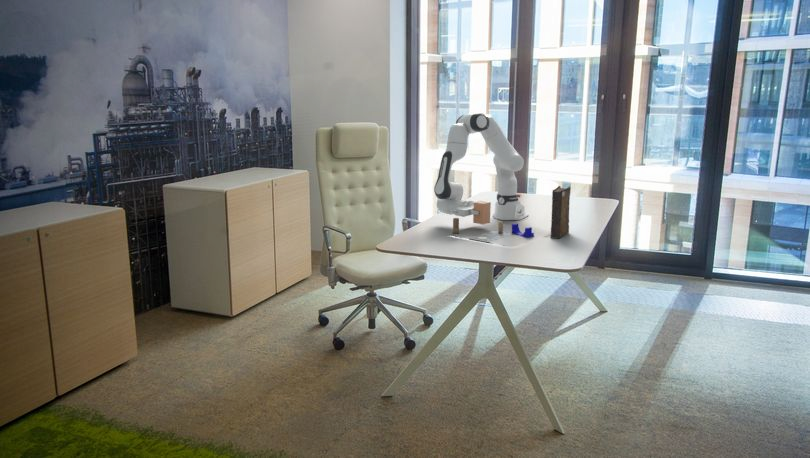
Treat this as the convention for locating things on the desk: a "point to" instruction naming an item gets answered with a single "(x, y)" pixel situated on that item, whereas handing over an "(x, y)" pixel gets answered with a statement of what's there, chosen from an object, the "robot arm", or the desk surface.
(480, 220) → the block
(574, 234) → the desk surface
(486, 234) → the board
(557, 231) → the book
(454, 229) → the pin
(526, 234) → the cable clip
